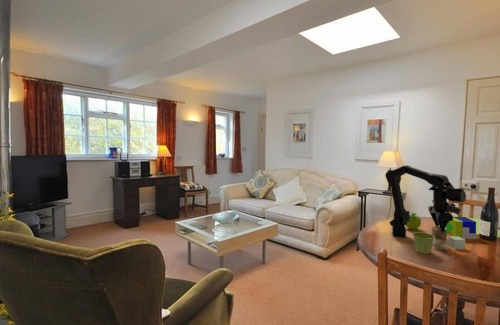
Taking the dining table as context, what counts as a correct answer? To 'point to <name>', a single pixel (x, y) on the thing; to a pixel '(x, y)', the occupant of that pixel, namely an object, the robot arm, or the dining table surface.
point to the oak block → (440, 244)
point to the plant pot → (423, 242)
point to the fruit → (414, 222)
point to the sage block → (456, 242)
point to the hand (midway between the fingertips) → (440, 228)
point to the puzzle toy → (462, 228)
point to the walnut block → (439, 233)
